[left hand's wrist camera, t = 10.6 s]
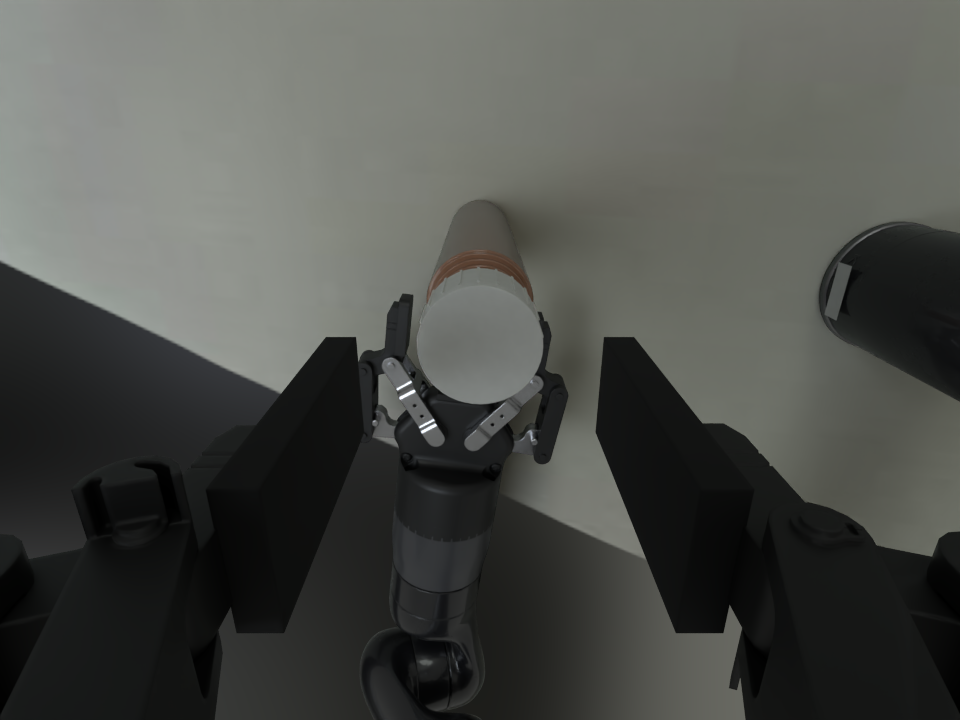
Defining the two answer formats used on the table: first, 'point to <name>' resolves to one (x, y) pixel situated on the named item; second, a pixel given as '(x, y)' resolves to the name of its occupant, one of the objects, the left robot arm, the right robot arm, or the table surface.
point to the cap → (479, 337)
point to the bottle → (479, 245)
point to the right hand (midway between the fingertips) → (471, 305)
